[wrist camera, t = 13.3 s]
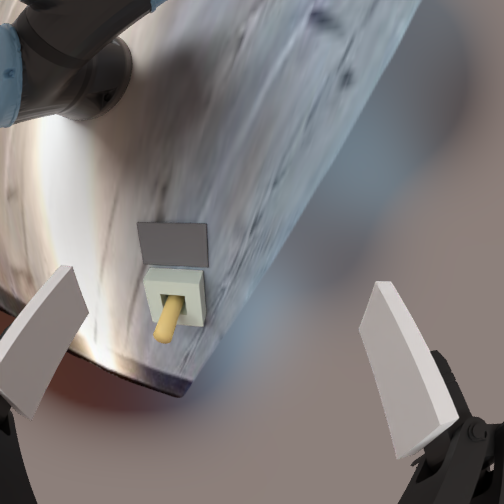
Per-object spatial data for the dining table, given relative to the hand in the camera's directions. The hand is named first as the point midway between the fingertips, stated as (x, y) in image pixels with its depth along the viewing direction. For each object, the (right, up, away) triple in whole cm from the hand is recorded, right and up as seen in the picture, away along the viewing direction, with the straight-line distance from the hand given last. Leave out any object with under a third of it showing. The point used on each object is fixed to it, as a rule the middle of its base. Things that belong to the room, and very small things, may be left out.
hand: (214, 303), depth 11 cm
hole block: (-12, -5, +40) cm, 42 cm away
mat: (-12, +3, +35) cm, 37 cm away
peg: (-12, -5, +40) cm, 42 cm away
